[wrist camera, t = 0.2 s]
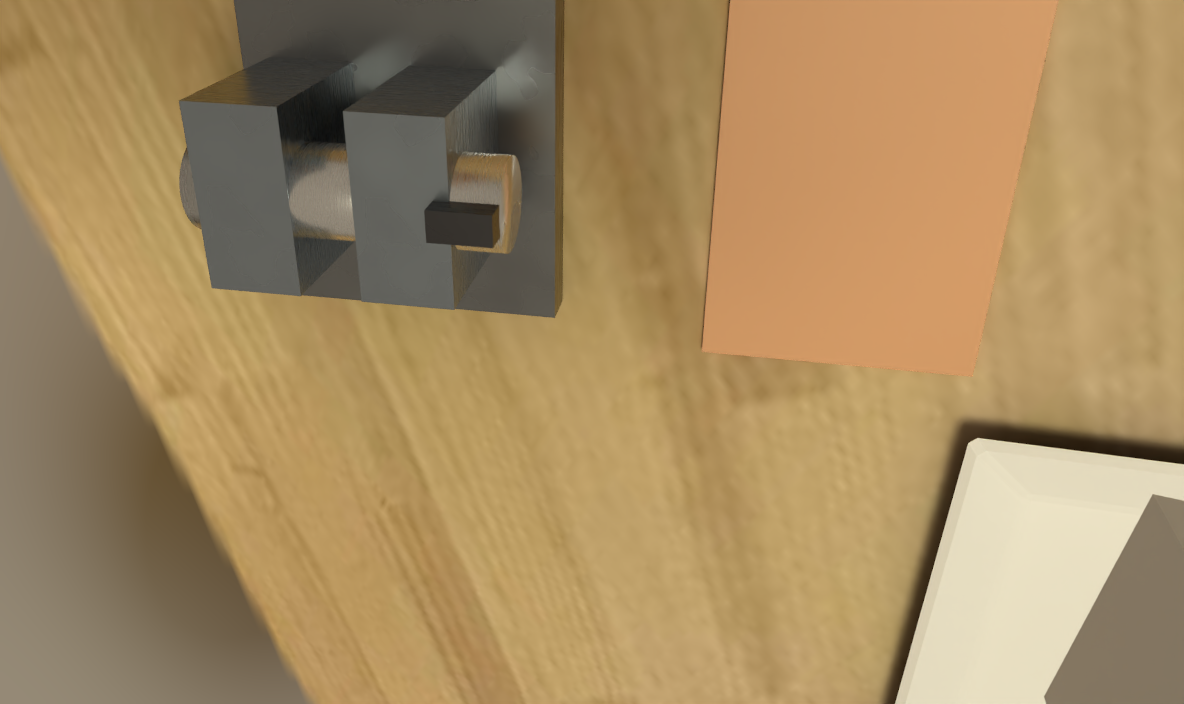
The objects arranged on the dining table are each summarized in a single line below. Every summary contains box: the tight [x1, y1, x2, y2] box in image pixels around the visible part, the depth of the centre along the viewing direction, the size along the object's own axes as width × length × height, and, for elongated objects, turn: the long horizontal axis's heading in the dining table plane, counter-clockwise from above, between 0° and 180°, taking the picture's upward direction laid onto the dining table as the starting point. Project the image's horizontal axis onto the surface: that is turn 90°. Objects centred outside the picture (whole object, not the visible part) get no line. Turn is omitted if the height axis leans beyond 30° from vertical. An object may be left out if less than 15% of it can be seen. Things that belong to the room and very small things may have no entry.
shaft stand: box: [179, 0, 564, 318], centre depth 33 cm, size 12×11×8 cm
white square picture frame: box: [895, 438, 1184, 704], centre depth 41 cm, size 19×19×2 cm
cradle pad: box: [702, 0, 1059, 376], centre depth 34 cm, size 15×10×1 cm, turn 179°
